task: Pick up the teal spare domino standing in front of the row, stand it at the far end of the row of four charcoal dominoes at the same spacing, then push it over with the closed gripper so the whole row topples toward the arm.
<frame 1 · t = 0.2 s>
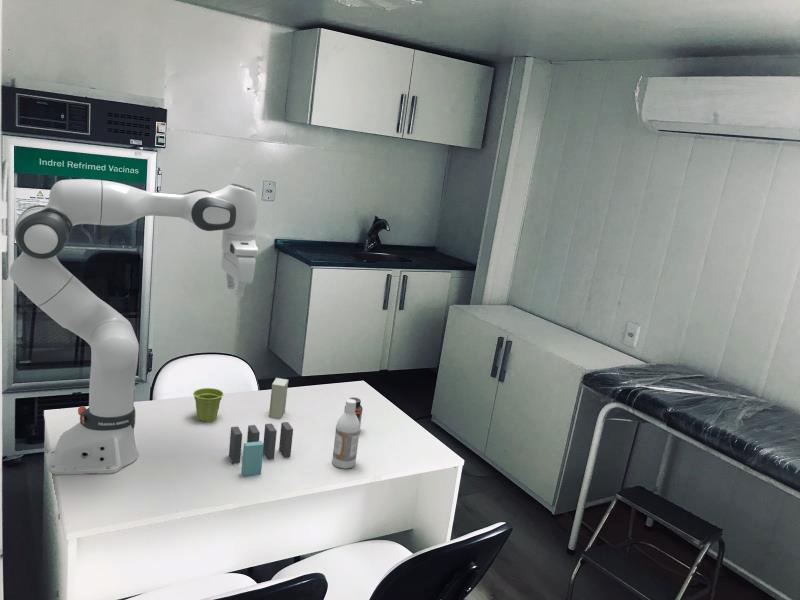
hand: (234, 292, 177), 47 cm above the table, tool pointing down, fingers open, 8 cm apart
domino 3: (268, 455, 186), on the table
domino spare: (251, 473, 175), on the table
bath foam: (343, 464, 187), on the table
domino 4: (284, 453, 188), on the table
supplement bottle: (350, 431, 209), on the table
skincare box: (277, 415, 214), on the table
domino 2: (251, 457, 183), on the table
plant pot: (206, 418, 205), on the table
domino 1: (234, 459, 181), on the table
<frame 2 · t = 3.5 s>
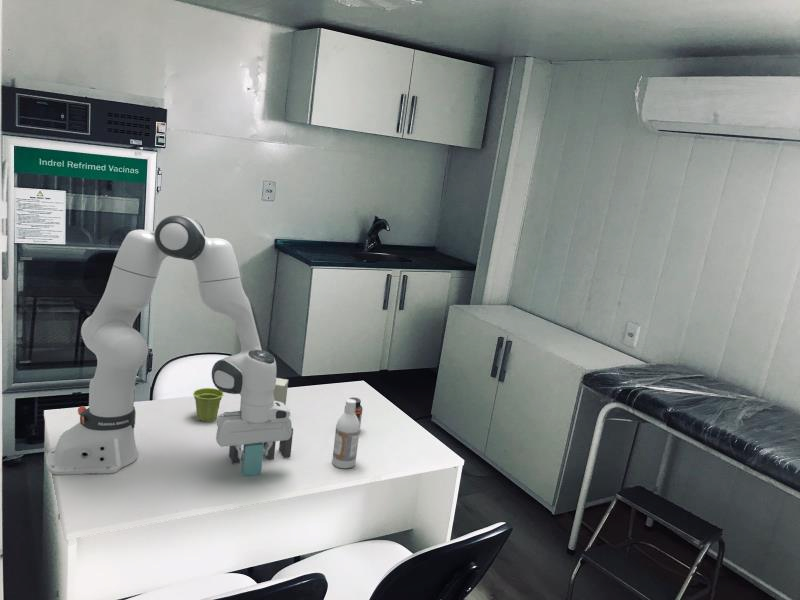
hand: (252, 456, 174), 5 cm above the table, tool pointing down, fingers closed on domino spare, 5 cm apart
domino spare: (251, 473, 175), on the table, touching gripper
everything else where it was.
when the fingers open (6 cm above the table, at t = 8.9 s): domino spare drops 1 cm, on the table.
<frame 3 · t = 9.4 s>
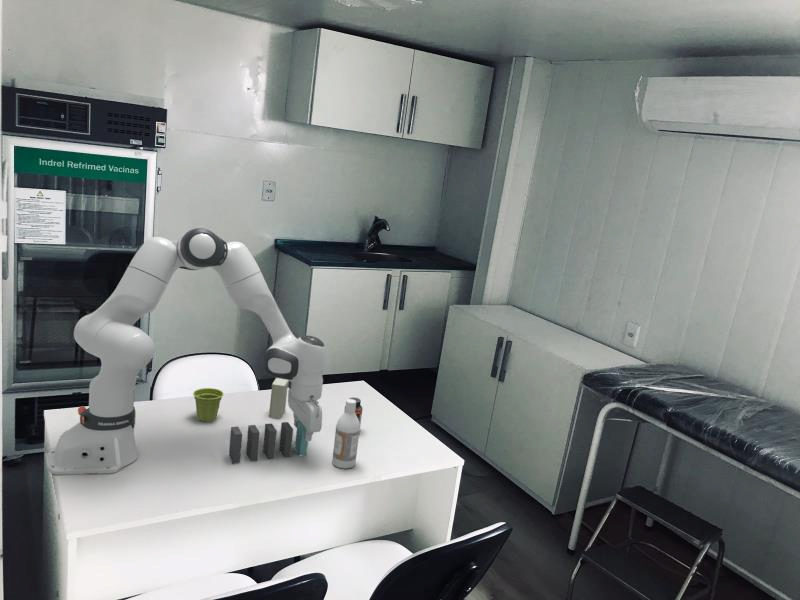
hand: (302, 433, 189), 6 cm above the table, tool pointing down, fingers open, 8 cm apart
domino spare: (300, 451, 191), on the table
everything else where it was.
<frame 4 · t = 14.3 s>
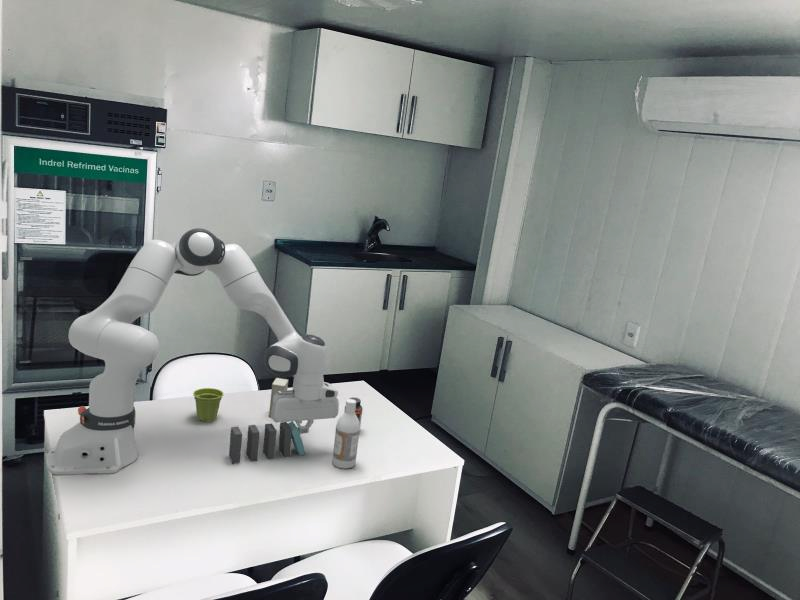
hand: (303, 432, 189), 6 cm above the table, tool pointing down, fingers closed
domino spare: (300, 450, 191), on the table, tilted 22°
everything else where it was.
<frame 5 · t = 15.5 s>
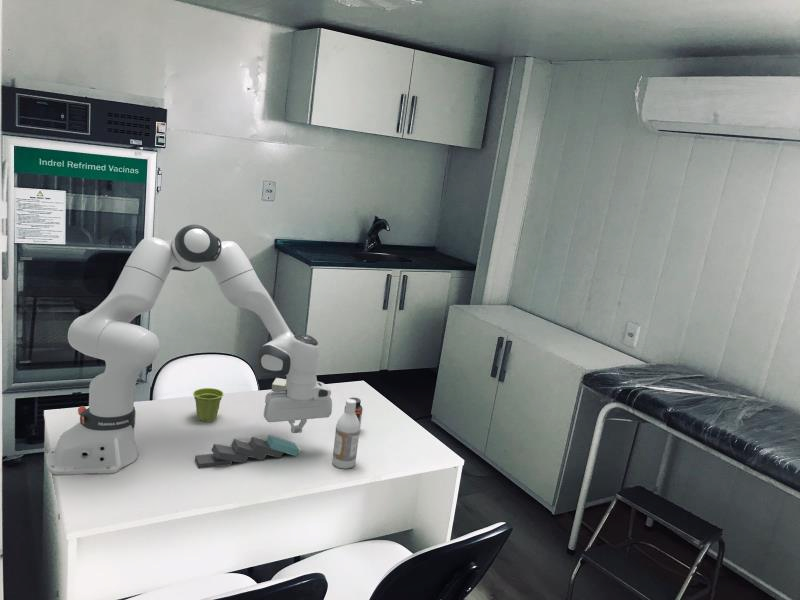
hand: (296, 432, 188), 7 cm above the table, tool pointing down, fingers closed
domino 3: (262, 453, 185), point 1 cm above the table, tilted 68°, touching domino 2
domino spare: (295, 449, 190), point 1 cm above the table, tilted 67°, touching domino 4
domino 4: (279, 451, 187), point 1 cm above the table, tilted 67°, touching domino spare
domino 2: (243, 455, 182), point 1 cm above the table, tilted 71°, touching domino 1, domino 3
domino 1: (229, 459, 180), on the table, tilted 90°, touching domino 2
everything else where it was.
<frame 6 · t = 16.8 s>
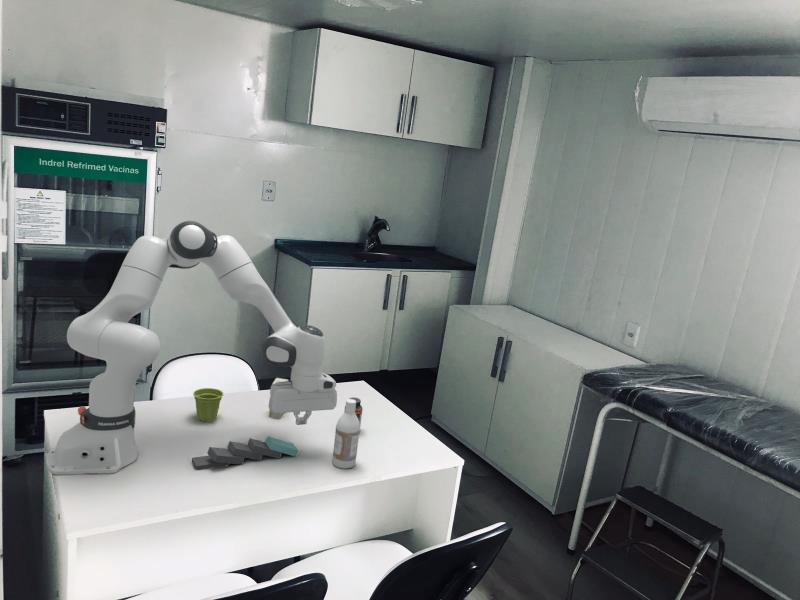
hand: (300, 424, 188), 9 cm above the table, tool pointing down, fingers closed
domino 3: (258, 453, 184), point 1 cm above the table, tilted 69°
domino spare: (294, 449, 189), point 1 cm above the table, tilted 67°, touching domino 4
domino 2: (239, 456, 180), point 1 cm above the table, tilted 71°
domino 1: (226, 460, 179), on the table, tilted 90°
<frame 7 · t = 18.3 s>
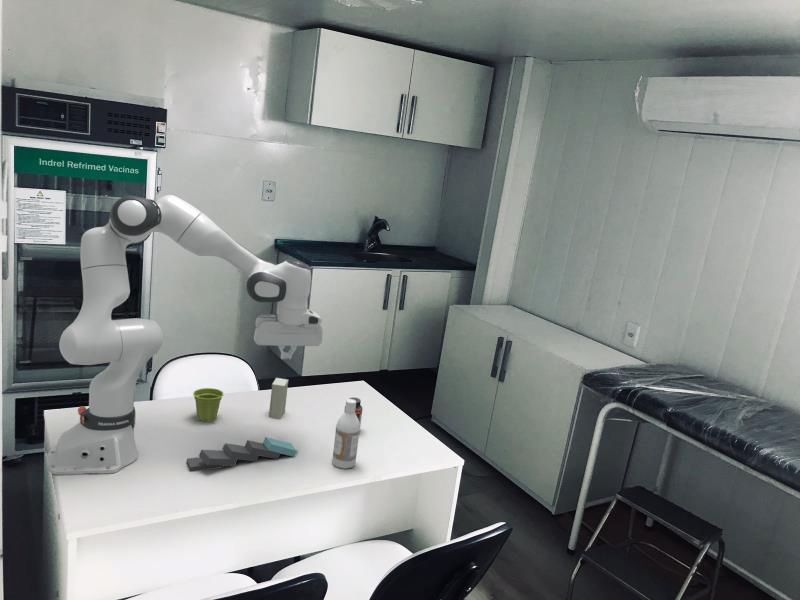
hand: (285, 358, 190), 27 cm above the table, tool pointing down, fingers closed
domino 3: (253, 454, 183), point 1 cm above the table, tilted 70°, touching domino 2, domino 4
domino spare: (292, 450, 189), point 1 cm above the table, tilted 68°, touching domino 4
domino 4: (275, 452, 186), point 1 cm above the table, tilted 71°, touching domino 3, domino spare
domino 2: (231, 458, 178), point 1 cm above the table, tilted 73°, touching domino 1, domino 3
domino 1: (221, 461, 178), on the table, tilted 90°, touching domino 2
everything else where it was.
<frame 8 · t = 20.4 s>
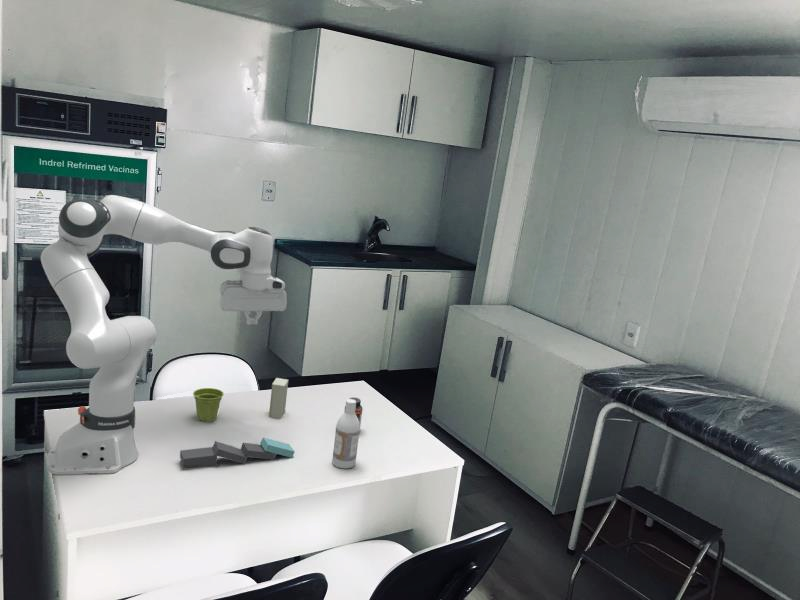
hand: (252, 324, 195), 34 cm above the table, tool pointing down, fingers closed
domino 3: (243, 456, 181), point 1 cm above the table, tilted 67°
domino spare: (290, 450, 188), point 1 cm above the table, tilted 69°
domino 4: (272, 452, 186), point 1 cm above the table, tilted 76°
domino 2: (214, 454, 178), point 2 cm above the table, tilted 90°, touching domino 1
domino 1: (215, 461, 178), on the table, tilted 90°, touching domino 2
everything else where it was.
at the end: domino 1 tilted 90°; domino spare tilted 69° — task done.
